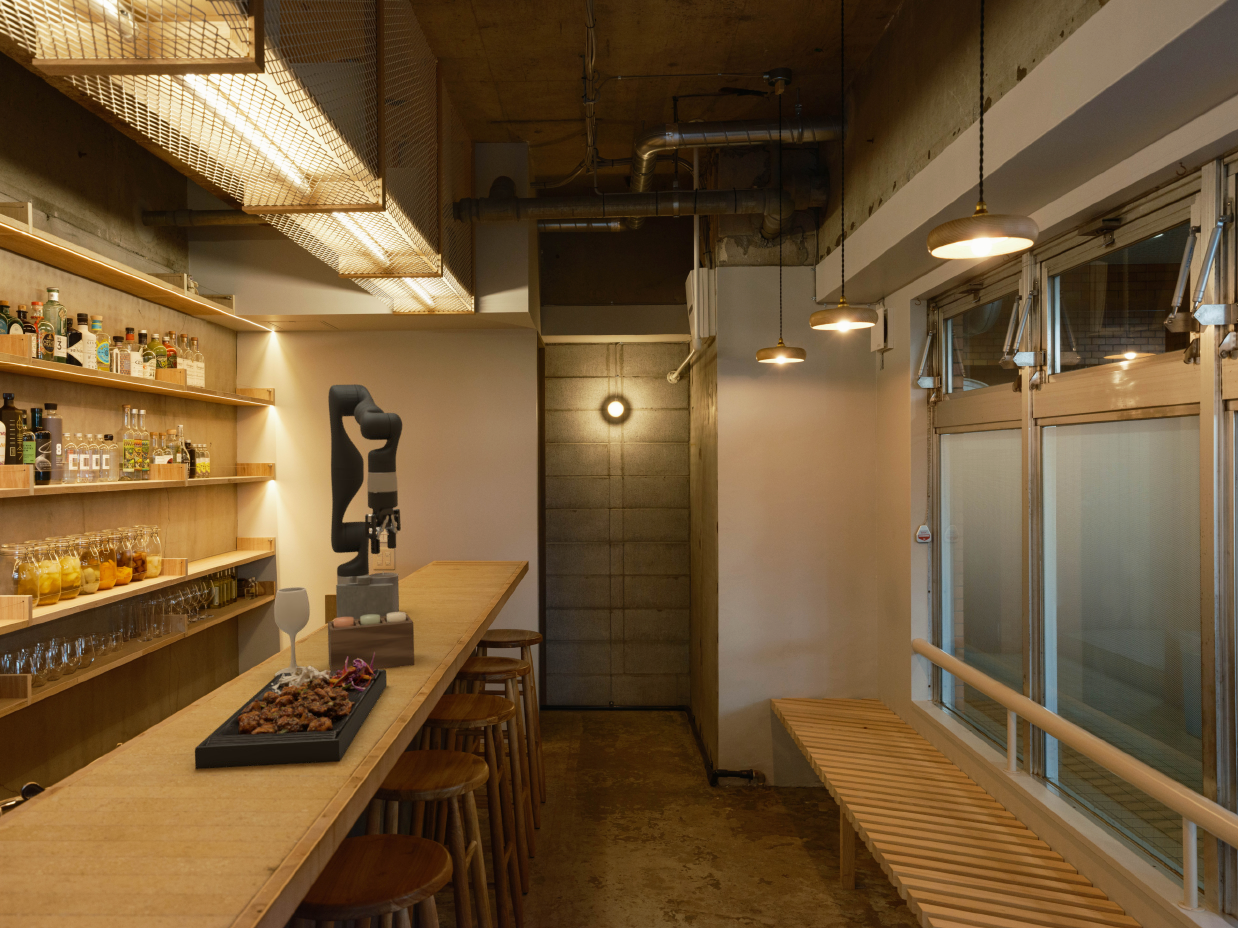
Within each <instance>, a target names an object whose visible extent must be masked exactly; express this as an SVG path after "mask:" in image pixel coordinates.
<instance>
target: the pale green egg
mask: <svg viewBox="0 0 1238 928" xmlns="http://www.w3.org/2000/svg"><path fill="white" fill-rule="evenodd" d="M360 620H361V625H368V624H378V623H380V615H378V614H368V615H363V616H361V617H360Z"/></svg>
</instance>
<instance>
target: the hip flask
mask: <svg viewBox="0 0 1238 928" xmlns="http://www.w3.org/2000/svg"><path fill="white" fill-rule="evenodd" d="M369 579H370V576H358V577H357V580H358V582H357V583H348V584H338V585H337V584H336V585H335V591H336V593H335V594H336V618H338V617H353V618H354V619H360V617H361V616H363V615H368V614H378V615H380V617H382V616H387V614H388V613H391V612H393V584H369V583H370V582H369Z"/></svg>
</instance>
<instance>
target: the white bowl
mask: <svg viewBox="0 0 1238 928" xmlns="http://www.w3.org/2000/svg"><path fill="white" fill-rule="evenodd" d="M310 610H311V609H310V601H309V595H308V591H307V589H306V587H302V586H295V587H293V586H292V587H284V588H280V589H278V590H277V591H276V593H275V599H274V607H273V614H274V615H273V617H274V622H275V624H276V626H277V627H278V628H279V630H280V631H282V632H283V633H286V634H287V635H288V636H289V639H290V664H289V667H285V668H282V669H280V670H278V671H277V672H275V674H274V677H276V676H277V675H278V674H281V673H283V672H285V673H294V672H295V671H296V667H303V666H302V665H301V666H299V665H298V664H297V659H296V658H297V657H296V637H297V634H298V633H299V632H301V631H302V630H303V629H305V628H306V626H307V624H308V622H309V619H310V613H311V612H310ZM306 667H307V668H308V666H306Z"/></svg>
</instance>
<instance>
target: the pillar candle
mask: <svg viewBox="0 0 1238 928" xmlns="http://www.w3.org/2000/svg"><path fill="white" fill-rule="evenodd" d="M369 576H370V579H369V582H370V583H369V584H393V612H400V596H399V595H400V594H399V593H400V592H399V590H400V587H399V573H397V572H396V573H395V572H384V570H382V572H377V573H371V574H369Z"/></svg>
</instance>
